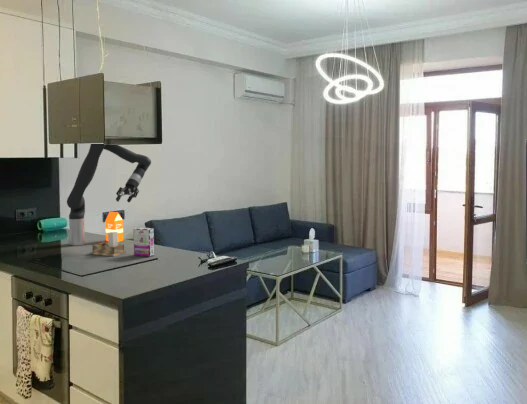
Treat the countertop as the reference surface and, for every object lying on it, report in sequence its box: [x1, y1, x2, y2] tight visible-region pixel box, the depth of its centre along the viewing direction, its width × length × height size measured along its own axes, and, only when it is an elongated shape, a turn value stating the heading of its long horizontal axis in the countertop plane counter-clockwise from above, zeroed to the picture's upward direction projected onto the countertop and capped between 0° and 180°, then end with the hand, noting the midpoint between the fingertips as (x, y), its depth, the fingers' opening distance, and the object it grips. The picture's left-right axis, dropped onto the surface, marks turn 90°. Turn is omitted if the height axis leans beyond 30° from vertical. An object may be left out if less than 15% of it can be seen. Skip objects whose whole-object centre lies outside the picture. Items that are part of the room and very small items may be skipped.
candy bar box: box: [133, 227, 155, 258], centre depth 286 cm, size 11×5×16 cm, turn 71°
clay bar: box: [107, 232, 119, 247], centre depth 289 cm, size 4×4×12 cm
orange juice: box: [105, 211, 124, 243], centre depth 330 cm, size 8×9×20 cm
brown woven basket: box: [90, 242, 127, 257], centre depth 291 cm, size 17×11×5 cm, turn 68°
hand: (122, 201), depth 303 cm, fingers open, 8 cm apart
